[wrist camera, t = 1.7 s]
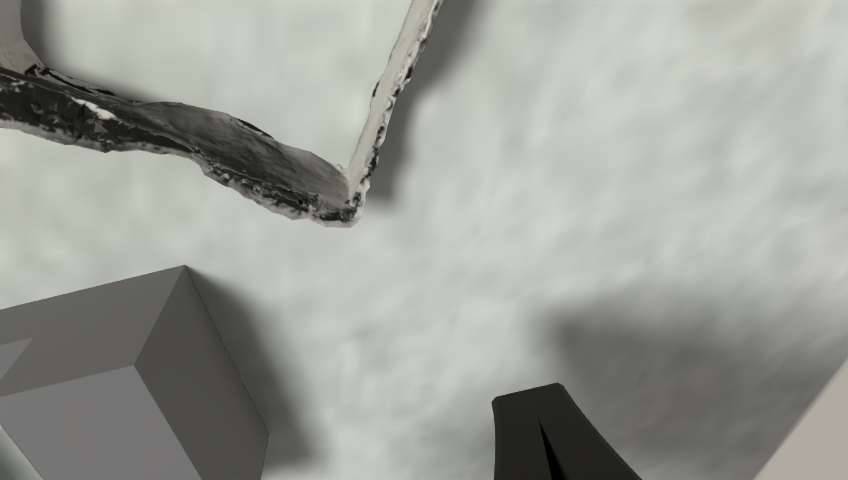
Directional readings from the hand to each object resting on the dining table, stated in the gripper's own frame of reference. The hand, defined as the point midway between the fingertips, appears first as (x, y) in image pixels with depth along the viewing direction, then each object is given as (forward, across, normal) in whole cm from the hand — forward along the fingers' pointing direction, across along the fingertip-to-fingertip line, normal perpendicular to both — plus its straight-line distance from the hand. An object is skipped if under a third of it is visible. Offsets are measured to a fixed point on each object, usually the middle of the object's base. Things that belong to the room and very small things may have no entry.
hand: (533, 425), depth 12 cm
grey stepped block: (+5, +10, 0) cm, 11 cm away
